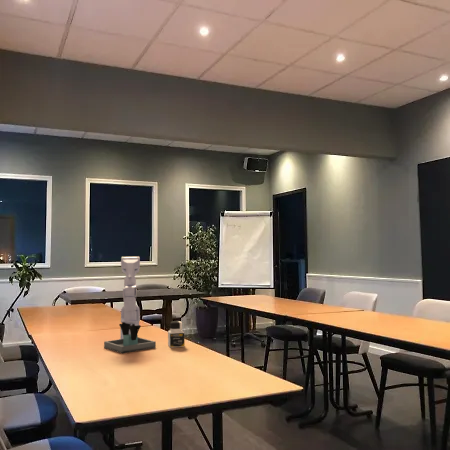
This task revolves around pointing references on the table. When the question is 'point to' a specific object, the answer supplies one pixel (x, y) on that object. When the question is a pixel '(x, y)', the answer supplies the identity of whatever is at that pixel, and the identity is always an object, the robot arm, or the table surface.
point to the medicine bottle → (176, 335)
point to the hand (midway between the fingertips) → (129, 339)
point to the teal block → (129, 340)
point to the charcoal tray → (118, 345)
